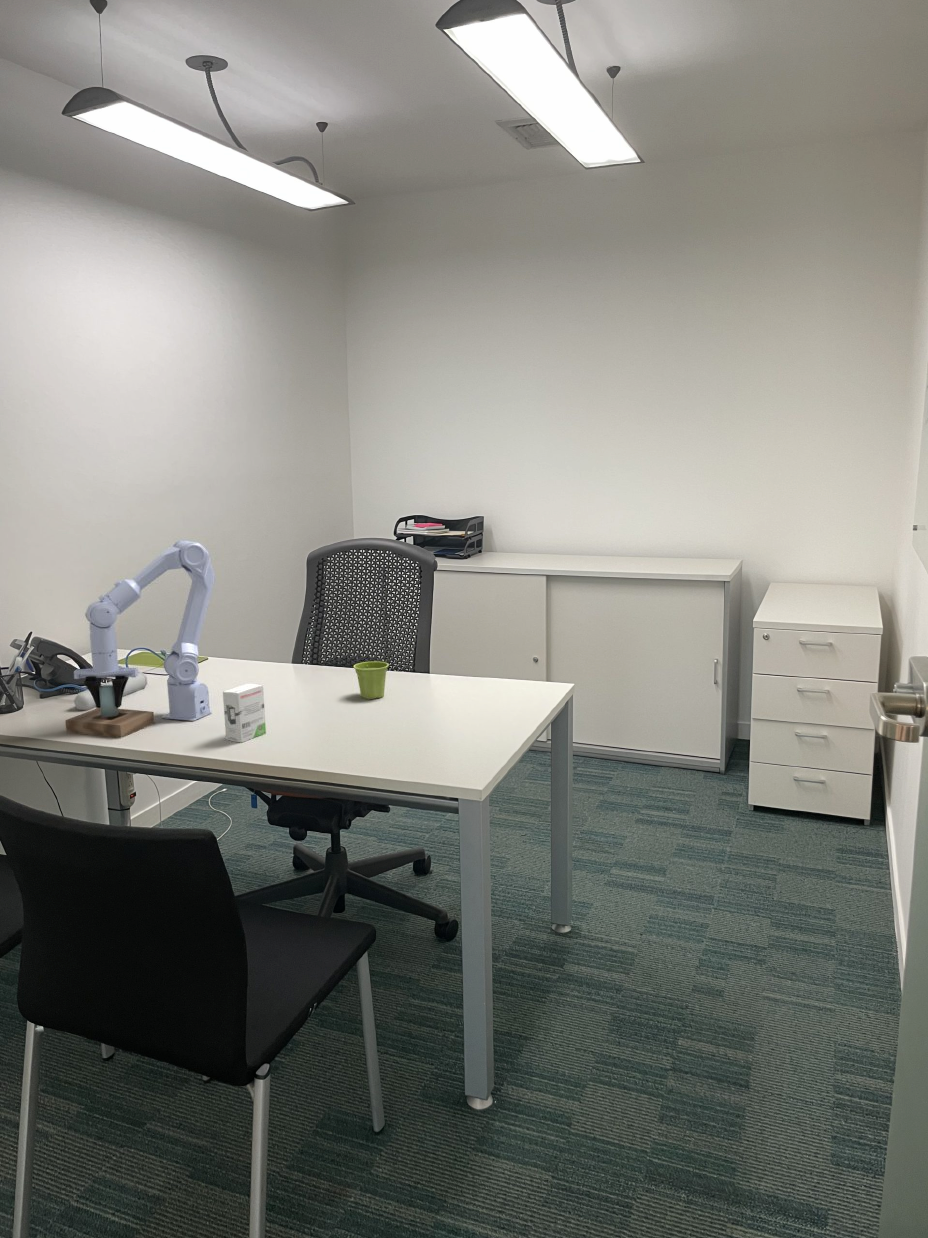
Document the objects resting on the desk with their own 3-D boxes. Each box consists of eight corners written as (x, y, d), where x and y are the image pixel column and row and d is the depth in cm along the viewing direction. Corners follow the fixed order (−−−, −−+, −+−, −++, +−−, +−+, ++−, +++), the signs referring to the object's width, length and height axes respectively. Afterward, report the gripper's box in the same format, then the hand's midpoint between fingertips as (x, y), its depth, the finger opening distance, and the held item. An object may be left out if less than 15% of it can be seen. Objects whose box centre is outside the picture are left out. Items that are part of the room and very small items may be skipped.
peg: (120, 712, 225) (118, 684, 224) (116, 716, 221) (113, 688, 220) (103, 713, 225) (101, 685, 224) (98, 717, 221) (96, 688, 220)
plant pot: (349, 700, 244) (348, 668, 243) (361, 691, 253) (360, 660, 252) (383, 702, 242) (382, 669, 241) (394, 692, 251) (393, 661, 250)
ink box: (251, 730, 219) (248, 682, 217) (267, 733, 217) (264, 684, 214) (225, 740, 212) (221, 690, 210) (240, 743, 209) (237, 693, 207)
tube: (88, 698, 237) (149, 675, 260) (71, 690, 238) (133, 668, 262) (84, 716, 238) (145, 692, 262) (68, 709, 240) (130, 685, 263)
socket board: (154, 723, 226) (153, 711, 226) (121, 737, 215) (120, 725, 215) (101, 718, 232) (100, 707, 231) (66, 732, 220) (65, 720, 220)
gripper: (140, 647, 224) (144, 701, 227) (79, 648, 224) (84, 703, 226) (130, 653, 217) (135, 709, 220) (68, 655, 217) (73, 711, 219)
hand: (109, 706), depth 222 cm, fingers closed on peg, 4 cm apart
